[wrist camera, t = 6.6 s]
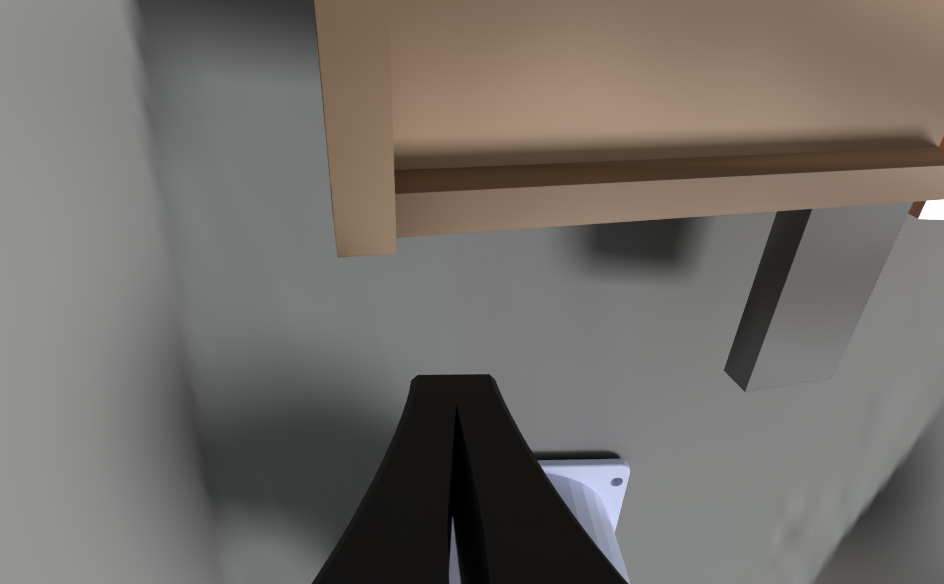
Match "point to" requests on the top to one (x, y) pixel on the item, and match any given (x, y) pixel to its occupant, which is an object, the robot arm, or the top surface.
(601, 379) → the top surface
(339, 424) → the top surface
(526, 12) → the lever board
